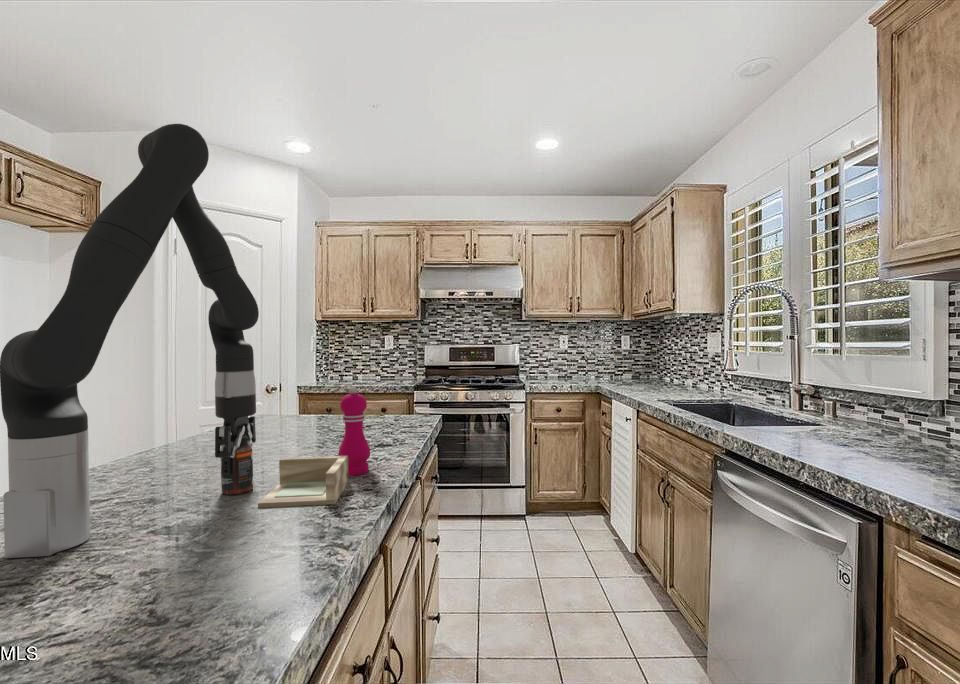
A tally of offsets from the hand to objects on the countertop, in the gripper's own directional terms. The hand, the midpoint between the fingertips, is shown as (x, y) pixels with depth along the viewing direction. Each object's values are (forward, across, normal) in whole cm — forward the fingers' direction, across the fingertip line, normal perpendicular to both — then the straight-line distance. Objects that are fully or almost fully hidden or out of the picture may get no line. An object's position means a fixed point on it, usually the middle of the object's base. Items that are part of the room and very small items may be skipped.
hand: (237, 471), depth 100 cm
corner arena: (+4, +4, +15) cm, 16 cm away
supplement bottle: (+4, 0, 0) cm, 4 cm away
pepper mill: (+4, -11, +22) cm, 25 cm away
